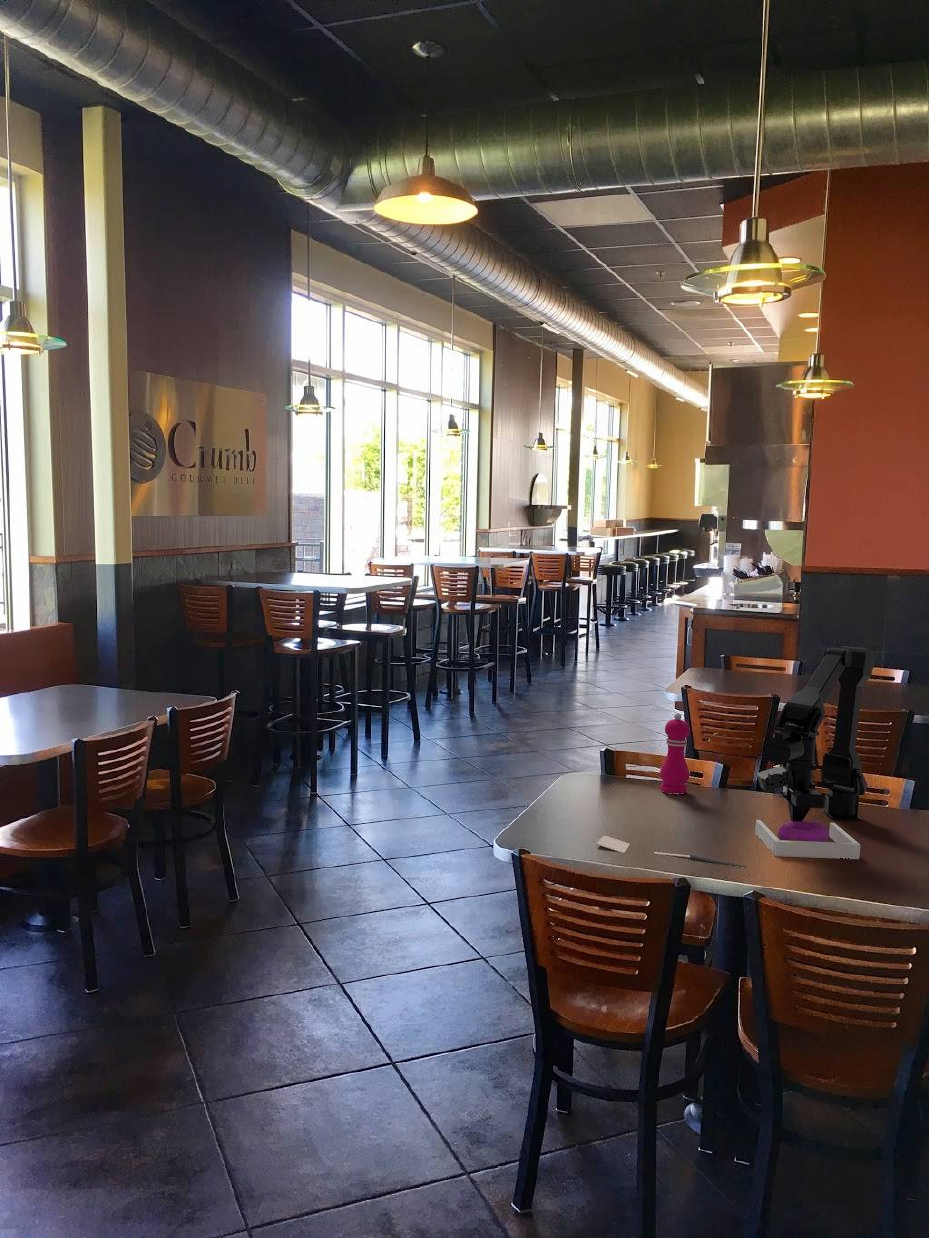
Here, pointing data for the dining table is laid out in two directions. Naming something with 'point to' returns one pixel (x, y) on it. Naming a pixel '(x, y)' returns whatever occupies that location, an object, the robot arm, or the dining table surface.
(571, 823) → the dining table surface
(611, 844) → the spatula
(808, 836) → the donut
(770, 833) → the tray
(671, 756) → the pepper mill
